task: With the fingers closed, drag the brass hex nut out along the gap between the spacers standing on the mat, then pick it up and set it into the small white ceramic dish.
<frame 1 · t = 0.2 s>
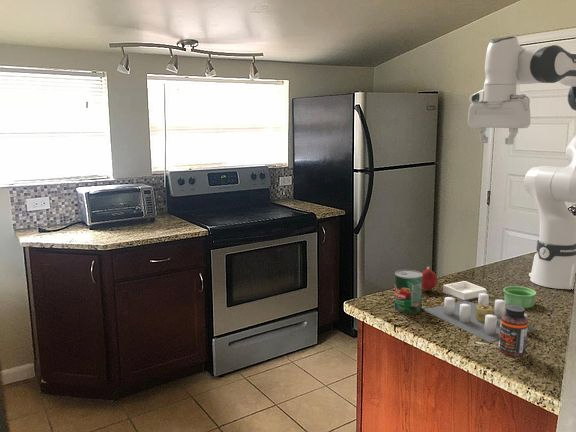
hand: (496, 143, 153), 48 cm above the worktop, tool pointing down, fingers open, 8 cm apart
pomegranate: (427, 291, 168), on the worktop
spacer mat: (476, 320, 144), on the worktop
brass nut: (483, 319, 143), resting on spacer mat
canned tomato: (407, 310, 153), on the worktop
supplement bottle: (511, 353, 124), on the worktop
ramekin: (518, 305, 156), on the worktop
ceramic dish: (464, 294, 165), on the worktop
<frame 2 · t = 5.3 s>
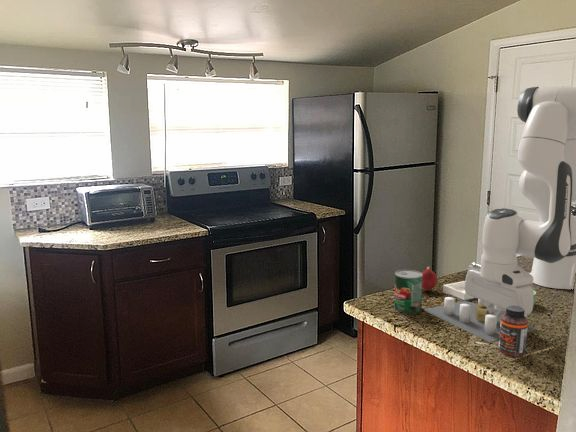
hand: (494, 319, 140), 2 cm above the worktop, tool pointing down, fingers closed
brass nut: (483, 319, 143), resting on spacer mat, touching gripper
everything else where it was.
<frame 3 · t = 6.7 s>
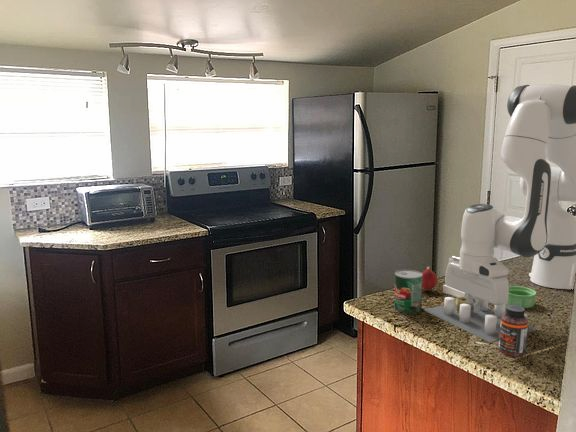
hand: (473, 310, 146), 2 cm above the worktop, tool pointing down, fingers closed
brass nut: (463, 310, 150), resting on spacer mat, touching gripper
everything else where it was.
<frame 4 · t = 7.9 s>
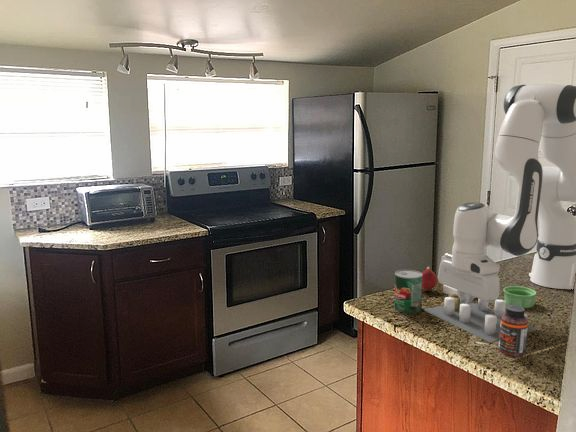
hand: (465, 306, 149), 2 cm above the worktop, tool pointing down, fingers closed
brass nut: (455, 307, 152), resting on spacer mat, touching gripper
everything else where it was.
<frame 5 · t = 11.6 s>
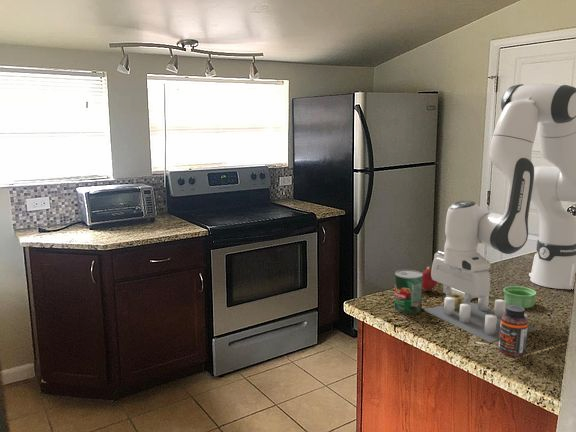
hand: (457, 303, 152), 2 cm above the worktop, tool pointing down, fingers open, 5 cm apart
brass nut: (455, 307, 153), resting on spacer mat, touching gripper
everything else where it was.
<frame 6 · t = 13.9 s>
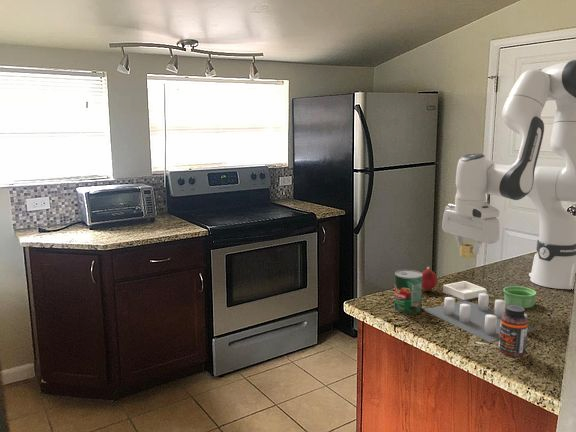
hand: (468, 251, 161), 14 cm above the worktop, tool pointing down, fingers closed on brass nut, 4 cm apart
brass nut: (467, 256, 161), point 13 cm above the worktop, touching gripper
everything else where it was.
when the fingers open (4 cm above the worktop, at t = 16.1 s): brass nut drops 2 cm, resting on ceramic dish.
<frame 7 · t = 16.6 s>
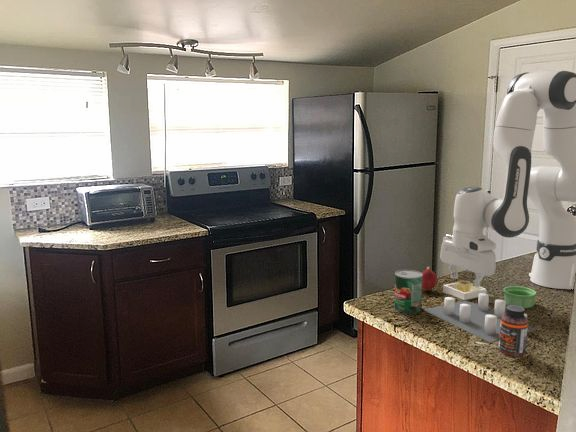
hand: (465, 282, 164), 4 cm above the worktop, tool pointing down, fingers open, 8 cm apart
brass nut: (463, 293, 164), resting on ceramic dish
everything else where it was.
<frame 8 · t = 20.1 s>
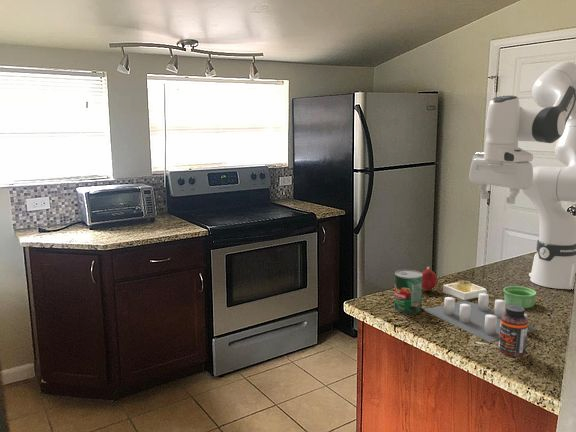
hand: (497, 201, 152), 31 cm above the worktop, tool pointing down, fingers open, 8 cm apart
nothing on the worktop moved.
at the end: brass nut inside the target area on the ceramic dish (0.2 cm from its centre), point 0.5 cm above the ceramic dish's base; brass nut touching ceramic dish; the gripper is holding nothing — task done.
